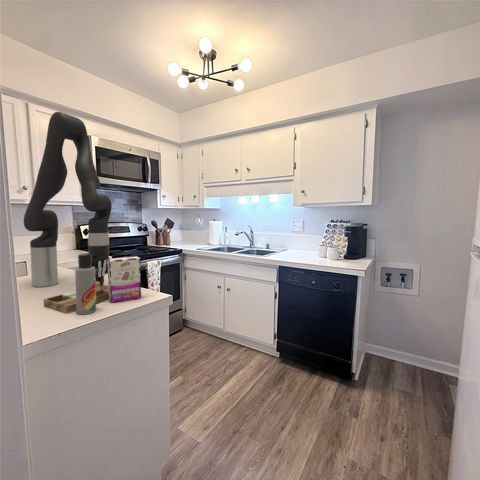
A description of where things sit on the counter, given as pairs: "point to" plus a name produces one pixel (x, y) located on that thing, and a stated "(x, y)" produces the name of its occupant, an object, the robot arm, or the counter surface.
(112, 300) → the candy bar box
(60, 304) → the board
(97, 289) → the beech block
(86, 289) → the lotion bottle
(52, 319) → the counter surface
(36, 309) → the counter surface
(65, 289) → the counter surface
